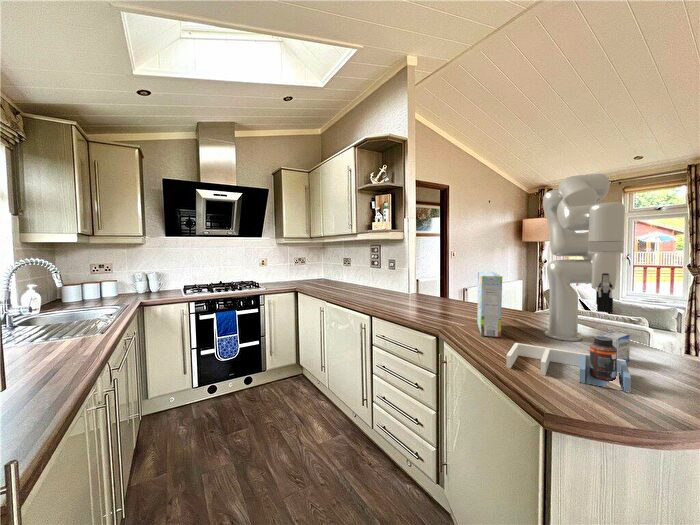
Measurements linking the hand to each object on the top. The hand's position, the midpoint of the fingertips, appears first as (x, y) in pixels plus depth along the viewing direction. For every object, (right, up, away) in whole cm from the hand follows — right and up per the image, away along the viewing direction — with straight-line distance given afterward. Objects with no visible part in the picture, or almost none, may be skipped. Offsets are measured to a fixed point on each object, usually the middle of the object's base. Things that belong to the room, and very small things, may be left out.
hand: (603, 308), depth 85 cm
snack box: (-9, -18, +50) cm, 54 cm away
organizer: (-7, -20, +7) cm, 22 cm away
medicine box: (+14, -19, +13) cm, 27 cm away
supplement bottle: (+1, -20, +1) cm, 20 cm away
